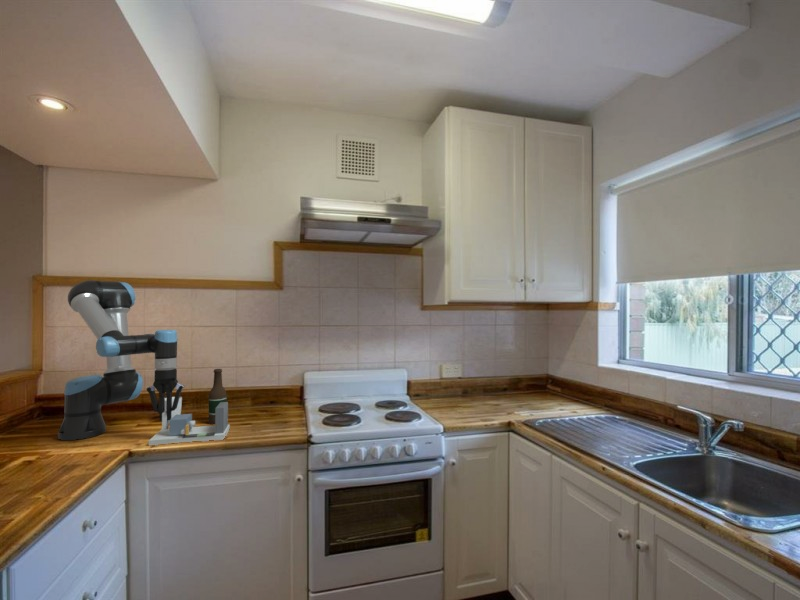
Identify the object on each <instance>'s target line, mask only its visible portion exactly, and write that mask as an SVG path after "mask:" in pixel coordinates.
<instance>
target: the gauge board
mask: <svg viewBox="0 0 800 600" xmlns="http://www.w3.org/2000/svg"><path fill="white" fill-rule="evenodd" d="M229 429H230V430H231V424H229V402H228V401H226V402H220V403H219V405H218V406H217V407H216V408H215V425H213V424H212V425H202V426H192V429H191V430H190V431H189V434H188V435H174V436H169V428H168V429H166V430H162V428H161V429H160V430H159V431H158V432H157V433H156V434H154V436H152V437H151V438H150V439H148V446H149V445H155V446H159V445H158V444H166V445H169V444H168V443H178V444H180V443H179V442H190V443H193V442H192V441H202V442H210V441H209V440H214V441H222V440H223V439H224V438H226V437H227V435H228V433H229V431H230V430H229ZM225 436H226V437H225ZM224 440H225V439H224ZM224 440H223V441H224Z"/></svg>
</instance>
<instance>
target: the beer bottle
mask: <svg viewBox="0 0 800 600" xmlns="http://www.w3.org/2000/svg"><path fill="white" fill-rule="evenodd" d="M222 372H223V369H222V368H215V369H213V385H212V388H211V390H210V391H209V395H208V424H209V425H213V424H215V408H216V407H217V406H218V405H219V403H220V402H227V391H226V389H225V388H224V385H223V377H222V376H223V374H222Z"/></svg>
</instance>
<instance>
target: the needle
mask: <svg viewBox="0 0 800 600" xmlns="http://www.w3.org/2000/svg"><path fill="white" fill-rule="evenodd" d="M188 434H189V424H187V425H186V426H185V435H188Z"/></svg>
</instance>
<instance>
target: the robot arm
mask: <svg viewBox="0 0 800 600" xmlns="http://www.w3.org/2000/svg"><path fill="white" fill-rule="evenodd" d="M67 303H68V305H69V306H70V308H71V309H72V310H73V312H76V313H78V314H79V315H80V317H81V318H82V319H83V320H84V322H85V323H86V325H87V326H88V328H89V329H90V330H91V332H92V333H93V335H94V336H95V338H96V339H97V341H96V343H95V349H96V353H97V355H98V356H99V357H101V358H102V357H103V358H104V357H105V358H106V367H107V368H106V370H105V371H104V372H103V373H102V375H101V374H90V375H84V376H79V377H76V378H72V379H70V380H69V381H67V382H66V383H65V385H64V392H63V394H64V408H63V409H64V411H63V412H64V414H63V416H64V417H63V421H62V423H61V425H60V428H59V430H58V432H57V439H58V440H59V439H61V440H60V441H77V440H76V439H79V440H84V438H85V439H88V438H89V437H90V438H93V437H97V436H100V435H102V434H104V433H106V431H107V425H106V423H105V420H104V418H103V415H102V406H107V405H111V404H117V403H121V402H128V401H131V400H134V399H137V398H138V397H139V396H140V394H141V392H142V389H143V383H144V378H143V376H142V374H141V373H139V372H137V370H136V369H137V368H136V367H134V366H133V365H132V360H131V355H140V354H141V355H142V354H154V369H155V370H154V380H153V381H154V382H153V383H152V385H150V386H148V387H147V388H146V391H147V392H148V394H149V397H150V401H151V404H152V408H153V411H154V412H157V413H159V414H158V416H159V422H161V429H162V430H166V429H169V420H170V419H171V412H172V411H173V410H175V409H176V408H177V405H178V402H179V398H180V397H181V393H182V391H183V389H184V388H185V385H184V384H180V383H179V381H178V376H177V374H178V373H177V372H178V369H177V367H178V357H177V356H178V332H177V330H176V329H157V330H155V333H144V334H134V335H133V334H132V335H129V327H128V313H129V312H130V311H131V308H133V306H134V305H135V303H136V292H135V290H134V288H133V286H132V285H130V284H129V283H128V282H124V281H113V280H112V281H111V280H109V281H108V280H107V281H106V280H92V279H91V280H90V279H89V280H84V281H81V282H80V281H79V282H78V283H76V284H74V285H73V286H72V287H71V288H70V290H69V292H68V295H67ZM102 376H103V377H102ZM175 389H176V392H175V395H174V397H175V398H174V402H173V406H172V397H173V390H175ZM155 390H157V392H158V398H157V394H156V391H155ZM165 398H167V405H166V411H165Z"/></svg>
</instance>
